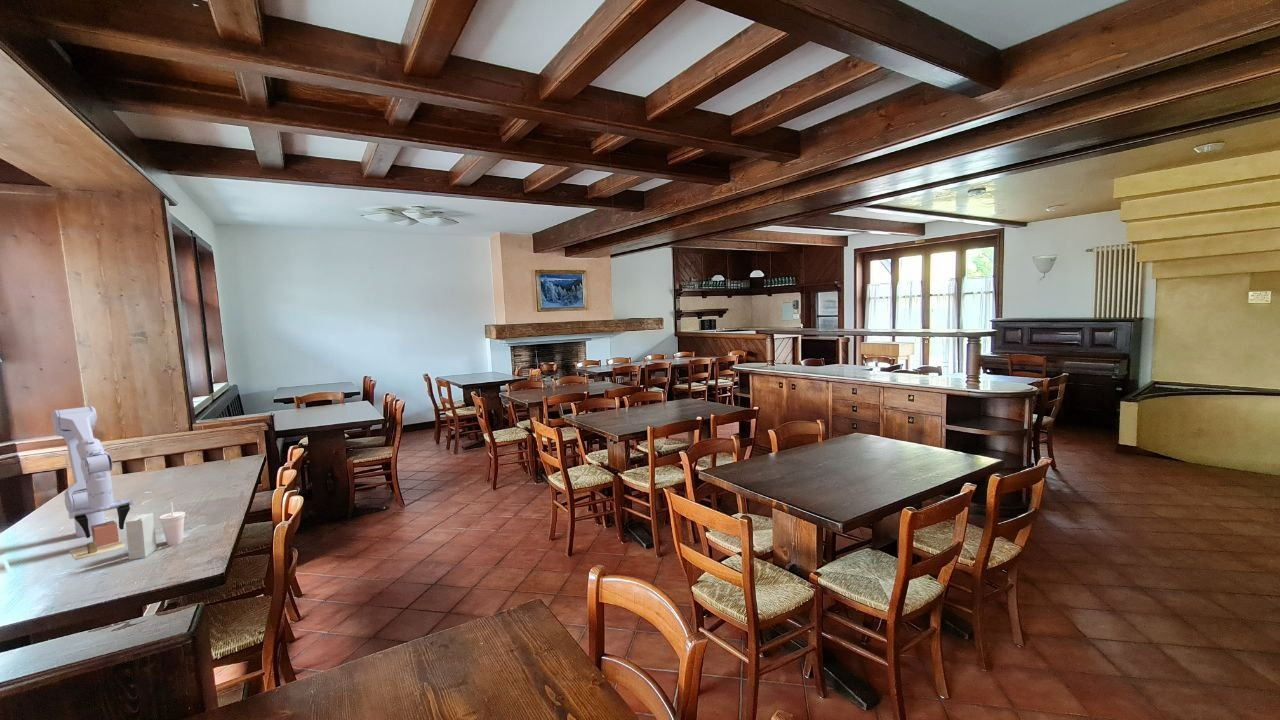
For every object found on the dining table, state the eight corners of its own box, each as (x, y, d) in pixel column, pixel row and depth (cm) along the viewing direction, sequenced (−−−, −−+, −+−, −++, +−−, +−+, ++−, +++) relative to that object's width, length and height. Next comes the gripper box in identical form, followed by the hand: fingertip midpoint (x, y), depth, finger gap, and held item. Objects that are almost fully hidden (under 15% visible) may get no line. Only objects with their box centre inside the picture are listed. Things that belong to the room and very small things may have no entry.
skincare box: (140, 551, 164) (136, 514, 163) (158, 549, 165) (154, 512, 164) (128, 560, 158) (123, 521, 157) (146, 557, 159) (141, 519, 158)
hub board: (68, 552, 165) (67, 540, 165) (117, 539, 174) (115, 528, 174) (76, 562, 158) (74, 550, 157) (126, 548, 166) (125, 537, 166)
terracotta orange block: (93, 543, 169) (90, 525, 169) (115, 538, 173) (113, 520, 173) (96, 547, 166) (94, 528, 166) (119, 541, 170) (116, 523, 170)
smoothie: (164, 549, 165) (159, 506, 164) (159, 545, 169) (155, 503, 167) (190, 542, 170) (186, 500, 169) (185, 537, 174) (181, 497, 173)
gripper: (69, 501, 160) (74, 543, 161) (133, 487, 172) (138, 527, 173) (65, 497, 164) (70, 538, 165) (128, 484, 176) (133, 523, 177)
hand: (105, 532), depth 169 cm, fingers open, 7 cm apart
